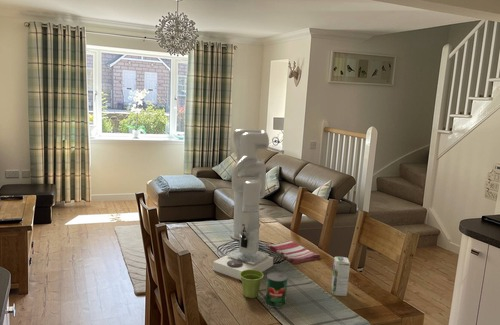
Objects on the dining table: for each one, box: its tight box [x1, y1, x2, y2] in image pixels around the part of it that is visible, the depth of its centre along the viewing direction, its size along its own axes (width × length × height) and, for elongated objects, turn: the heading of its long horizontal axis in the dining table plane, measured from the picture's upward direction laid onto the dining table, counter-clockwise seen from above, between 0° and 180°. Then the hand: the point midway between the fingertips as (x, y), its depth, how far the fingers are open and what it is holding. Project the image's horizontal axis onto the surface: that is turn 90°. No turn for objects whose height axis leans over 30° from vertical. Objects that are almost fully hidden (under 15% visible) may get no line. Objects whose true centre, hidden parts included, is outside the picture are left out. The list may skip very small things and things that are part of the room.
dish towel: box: [266, 240, 321, 265], centre depth 211 cm, size 17×23×3 cm
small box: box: [238, 228, 260, 254], centre depth 191 cm, size 8×6×10 cm
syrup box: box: [330, 256, 351, 297], centre depth 170 cm, size 6×6×14 cm
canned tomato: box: [264, 271, 288, 308], centre depth 159 cm, size 8×8×11 cm
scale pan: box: [226, 248, 271, 265], centre depth 192 cm, size 13×15×1 cm
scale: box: [212, 254, 274, 281], centre depth 190 cm, size 22×18×5 cm
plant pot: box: [240, 269, 264, 299], centre depth 165 cm, size 9×9×9 cm
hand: (248, 244), depth 192 cm, fingers closed on small box, 7 cm apart
